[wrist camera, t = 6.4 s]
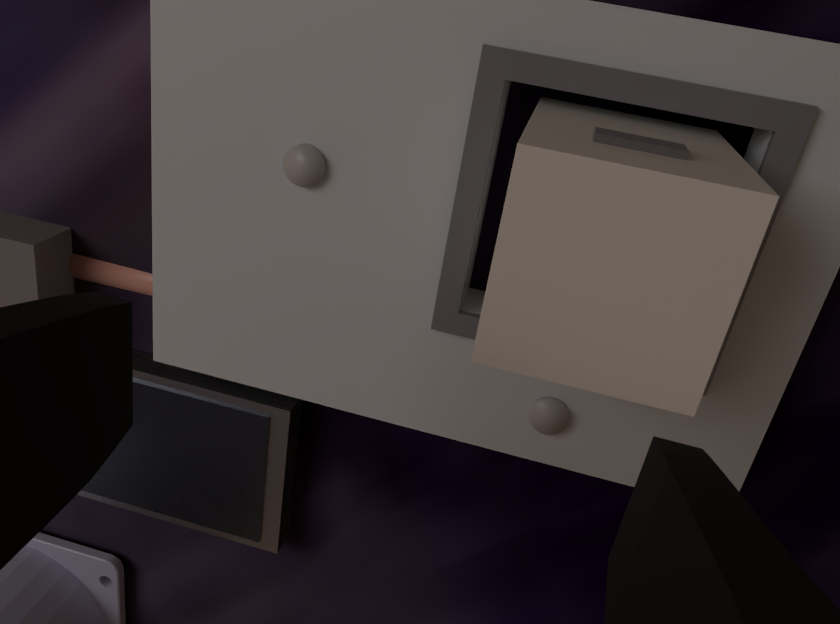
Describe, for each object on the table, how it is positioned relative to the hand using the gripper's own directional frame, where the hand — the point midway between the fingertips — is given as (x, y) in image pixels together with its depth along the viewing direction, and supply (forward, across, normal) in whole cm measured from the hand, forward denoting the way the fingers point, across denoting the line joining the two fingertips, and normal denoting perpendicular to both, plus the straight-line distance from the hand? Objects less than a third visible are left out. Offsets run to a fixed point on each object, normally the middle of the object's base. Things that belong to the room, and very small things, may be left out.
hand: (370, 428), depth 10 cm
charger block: (+10, -3, -2) cm, 10 cm away
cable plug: (+10, +10, +4) cm, 15 cm away
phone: (+10, +10, +9) cm, 17 cm away
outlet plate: (+10, 0, 0) cm, 10 cm away
